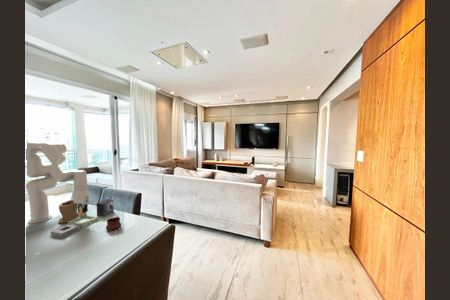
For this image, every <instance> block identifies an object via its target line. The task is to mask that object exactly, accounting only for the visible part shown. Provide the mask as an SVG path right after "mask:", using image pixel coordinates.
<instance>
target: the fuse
mask: <svg viewBox="0 0 450 300" xmlns="http://www.w3.org/2000/svg"><path fill="white" fill-rule="evenodd" d="M85 204H86V203H85ZM85 204H84V205H85ZM82 208H83V205H79V211H80V218H85V217H87V215H88V214H87V212H85V213H83V211H82Z"/></svg>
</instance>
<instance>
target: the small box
mask: <svg viewBox="0 0 450 300" xmlns="http://www.w3.org/2000/svg"><path fill="white" fill-rule="evenodd" d="M114 210H115V209H114V199H111V198H110V199H109V198H107V199H103V200H102V201H98V202H97V203H96V216H97V217H101V218H102V217H105V216H107V215H109V214H112V213H114Z"/></svg>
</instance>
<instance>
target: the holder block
mask: <svg viewBox="0 0 450 300" xmlns="http://www.w3.org/2000/svg"><path fill="white" fill-rule="evenodd" d="M78 231H80V227H79V226H77V225H71V224H66V225H63V226H61V227H57V229H54V230H51V231H50V236H51V237H53V238H59V239H63V238H66V237H68V236H70V235H72V234H74V233H77V232H78Z"/></svg>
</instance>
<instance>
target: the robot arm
mask: <svg viewBox="0 0 450 300" xmlns="http://www.w3.org/2000/svg"><path fill="white" fill-rule="evenodd" d="M26 143H27V149H26V160H27V172H26V175H27V176H28V177H29V178H31V179H32V180H29V181H28V182H27V183H26V185H25V189H26V191H27V194H28V195H27V196H28V203H29V211H30V215H29V216H30V219H28V220H27V223H28V222H29V223H28V224H39V223H42V222H46V221H47V220H50V219H52V217H53V216H52V214H50V213H49V212H50V211H49V201H48V195H47V193H45V191H46V190H49V189H53V188H56V187H57V185H58V183H66V182H72V181H73V189H74V190H73V193H72V195H73V198H72V200H73V201H74V203H76V204H77V207H78V208H77V213H79V212H80V211H79V205H83V208H82V211H83V213H85V212H86V213H88V207H89V205H90V204H91V203H90V192H89V190H88V178H87V170H85V169H79V170H78V169H70V170H69V169H68V170H65V171H62V170H61V169H60V165H61V164H63V163H65V161H66V159H67V157H66V156H65V155H64V153H66V152H67V146H66V145H65V144H64V143H62V142H55V141H28V142H26ZM38 154H44V157H46V158H47V160H48V161H49V162H50V163H42V159H41V157H40V156H39V155H38ZM40 177H41V178H40ZM35 178H36V179H35ZM84 204H85V205H84Z"/></svg>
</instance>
